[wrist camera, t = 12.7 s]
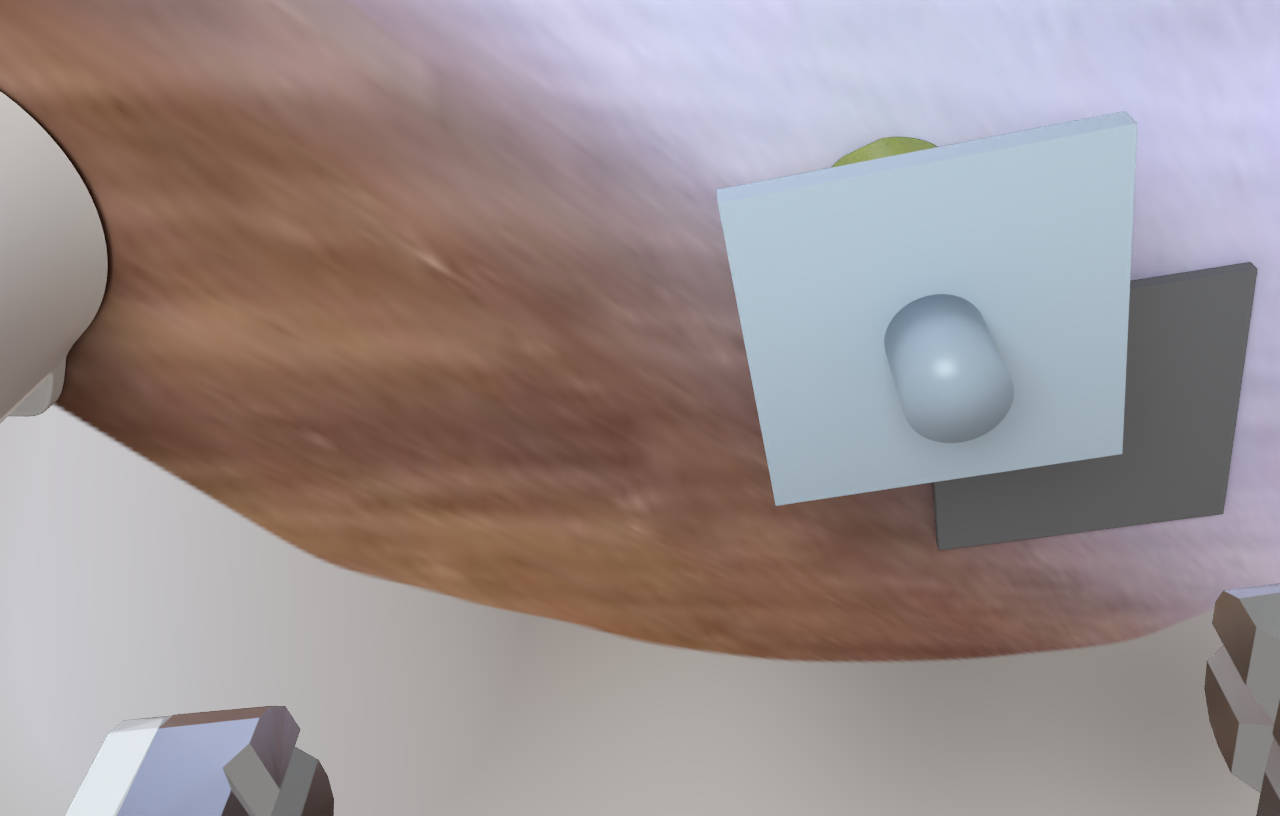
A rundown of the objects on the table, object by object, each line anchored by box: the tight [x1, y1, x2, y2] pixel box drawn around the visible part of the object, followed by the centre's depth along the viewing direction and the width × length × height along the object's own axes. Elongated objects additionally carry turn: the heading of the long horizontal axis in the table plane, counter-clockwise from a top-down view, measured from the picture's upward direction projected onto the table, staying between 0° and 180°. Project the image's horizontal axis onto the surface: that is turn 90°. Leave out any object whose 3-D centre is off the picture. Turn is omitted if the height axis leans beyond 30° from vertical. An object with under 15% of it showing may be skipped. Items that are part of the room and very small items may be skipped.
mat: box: [933, 262, 1257, 550], centre depth 48 cm, size 13×13×1 cm
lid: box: [717, 111, 1137, 506], centre depth 34 cm, size 12×12×4 cm
